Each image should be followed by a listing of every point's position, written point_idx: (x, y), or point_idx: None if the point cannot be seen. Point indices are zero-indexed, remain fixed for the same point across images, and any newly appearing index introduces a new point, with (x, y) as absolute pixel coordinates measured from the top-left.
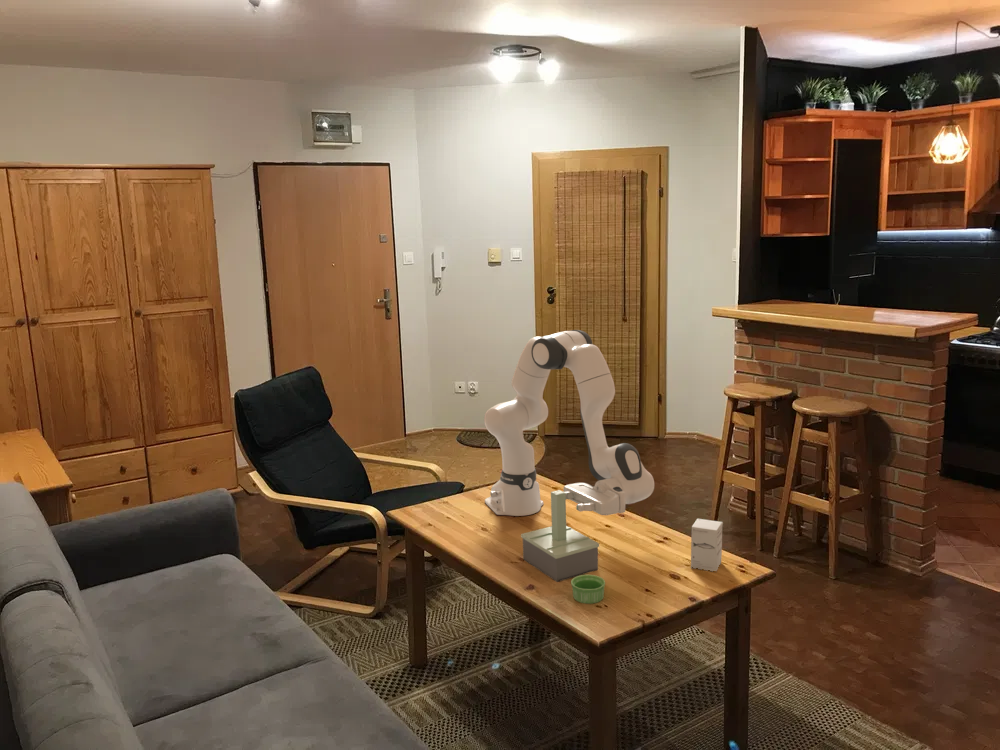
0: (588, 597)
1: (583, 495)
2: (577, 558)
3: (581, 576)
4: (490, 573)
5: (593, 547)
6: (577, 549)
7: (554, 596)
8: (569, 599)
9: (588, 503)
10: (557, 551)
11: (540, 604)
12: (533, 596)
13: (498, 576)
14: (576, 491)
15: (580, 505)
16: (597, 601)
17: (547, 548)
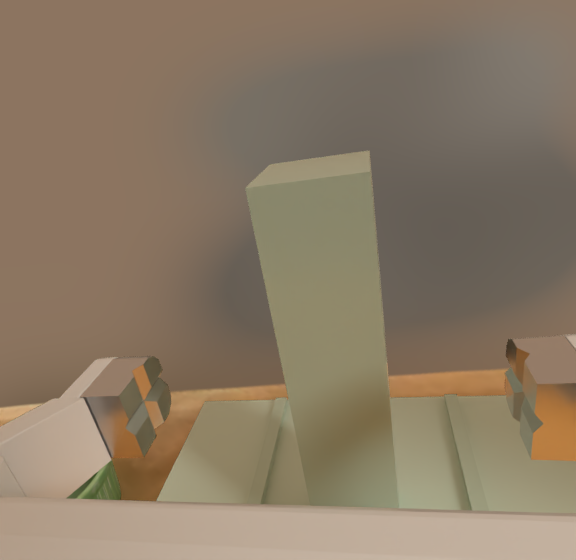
0: None
1: (206, 505)
2: None
3: (86, 488)
4: (448, 374)
5: None
6: None
7: (174, 439)
8: (119, 461)
9: (6, 440)
10: (227, 422)
11: (180, 394)
12: (227, 399)
13: (412, 382)
14: (551, 525)
15: (97, 363)
16: None
17: (280, 399)
